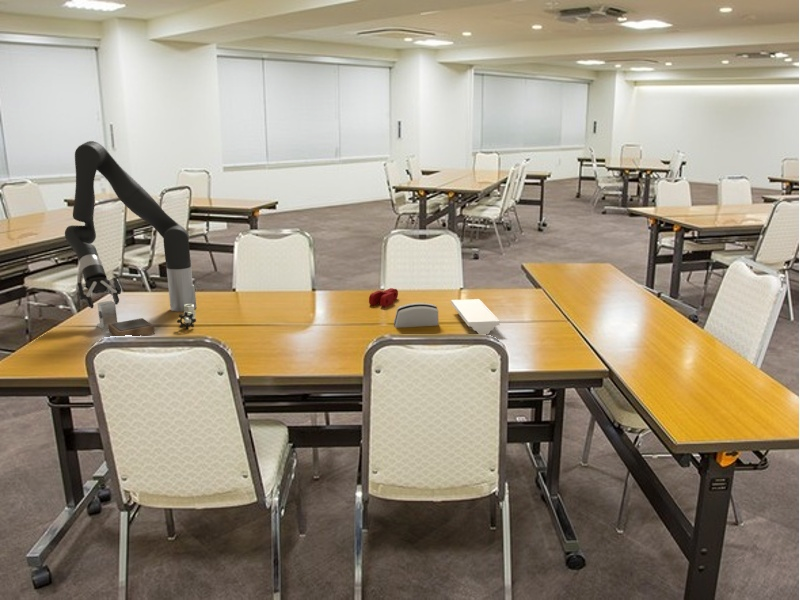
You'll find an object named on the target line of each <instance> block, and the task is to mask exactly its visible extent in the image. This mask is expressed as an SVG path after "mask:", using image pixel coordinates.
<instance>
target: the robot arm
mask: <svg viewBox="0 0 800 600" xmlns="http://www.w3.org/2000/svg"><path fill="white" fill-rule="evenodd" d="M74 164H75V193H74V200H73V207H72V208H73V209H72V218H73V219H74V220H75V221H77V222H80V223H81V222H82V223H84V225H73V224H72V225H69V226H67V227H66V229H65V231H64V237H65V240H66V242H67V243H68V244H69V246H70V247H71V249H72V250H73V252H74V253H75V254H76V257H77V260H78V262H79V269H80V272H81V274H82V277H83V280H84V282H85V283H81V282H78V283H77V285H76V286H77V287H76V289H77V292H78V293H77V294H78V297H79V300H81V301H83V300H85V301H86V304H87V307H88V308H90V309H94V306H95V305H94V303H93V299H92V296H93V294H101V293H107V294H108V295H111V296H112V300H113V302H114V303H115V306H116V305H119V303H120V298H119V295H121V292H122V288H121V286H120V282H119V281H118V279H117V278H116V277H114V278H113V279H108V277H107V274H106V271H105V269H104V266H103V264H102V263H103V262H102V261H101V258H100V256H99V253H98V250H97V249H96V247H95V245H94V244H93V243H94V242H95V241H96V237H97V234H96V228H95V222H94V214H95V213H94V212H95V207H96V195H95V178H96V174H97V173H96V172H98V173H100V174H101V175H102V176H103V177H104V178H105V179H106V180H107V182H108V183H109V185H110V186H111V188H112V190H113V192H114V193H115V195H116V197H117V198H118V199H119V200H120V202H122V204H123V205H125V206H126V207H127V209H129V210H130V211H131V212H132V213H133V214H135V215H136V216H137V217H139V218H140V219H142V220H143V221H145V222H146V223H147V224H149V225H150V226H151V227H153V229H155V230H156V231H157V233H158V234H159V235H160V236H161V237H162V239H163V248H164V249H163V251H164V261H165V265H166V275H167V286H168V287H167V288H168V296H169V307H170V308H169V309H170V311H172V312H178V313H180V312H184V311H185V310H184V305H186V304H194V310H195V309H197V298H196V289H195V288H196V287H195V285H194V284H193V274H192V273H193V272H192V261H191V255H190V254H191V253H190V250H191V249H190V242H189V241H190V236H189V233H188V230H186V229H185V228H184V227H183V226H182V225H180V224H179V223H178V222H176V221H175V220H174V219H173V218H172V217H171V216H169V214H167V213H166V211H164V209H163V208H162V207H161V206H160V205H159V203H158V202H157V201H156V200H155V199H154V198H153V197H152V196H151V195H150V193H148V191H147V190H146V189H144V187H142V186H141V184H140V183H138V182H137V181H136V180H135V179H134V178H133V177H132V176H131V175H130V174H129V173H128V172H127V171H126V170H125V169H124V168H123V167H122V166H120V164H119V163H117V161H116V160H115V158H113V156H112V155H111V154H110V153H109V152H108V150H107V149H106V147H104V146H103V144H101V143H99V142H98V141H94V140H93V141H92V140H89V141H86V142H83V143H82V144H80V145H78V146H77V148H76V149H75V152H74ZM111 285H112V286H111ZM113 287H114V288H113ZM85 288H86V289H87V290H88V291H87V293H86V294H85V293H84V290H85Z"/></svg>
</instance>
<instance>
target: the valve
mask: <svg viewBox="0 0 800 600" xmlns="http://www.w3.org/2000/svg"><path fill="white" fill-rule="evenodd" d="M184 310H185V311H183V315H182V314H181V313H180V314H179V315H178V318H180V319H177V320H176V323H178V324H179V323H180V325H179V328H180V329H183V328H185V330H189V329H190V327H191V328H194V327H195V324H194V323H196V322H197V319H196V311H195V309H194V304H186V305H184ZM183 321H184V323H185V324H184V323H183Z"/></svg>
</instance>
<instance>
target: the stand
mask: <svg viewBox="0 0 800 600" xmlns="http://www.w3.org/2000/svg"><path fill="white" fill-rule="evenodd" d="M117 322H118V323H112V324H108V328H109V329H108V333H109V334H111V336H113V337H114V336H125V335H132V336H140V335H146V336H149V335H151V336H152V335H155V325H153V324H152V323H151V322H149V321H148V320H146V319H145V318H143V317H141V318H140V317H139V318H136V319H130V320H124V321H117Z"/></svg>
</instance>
